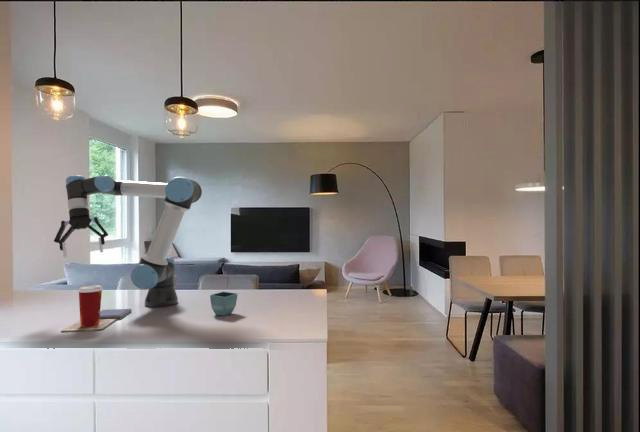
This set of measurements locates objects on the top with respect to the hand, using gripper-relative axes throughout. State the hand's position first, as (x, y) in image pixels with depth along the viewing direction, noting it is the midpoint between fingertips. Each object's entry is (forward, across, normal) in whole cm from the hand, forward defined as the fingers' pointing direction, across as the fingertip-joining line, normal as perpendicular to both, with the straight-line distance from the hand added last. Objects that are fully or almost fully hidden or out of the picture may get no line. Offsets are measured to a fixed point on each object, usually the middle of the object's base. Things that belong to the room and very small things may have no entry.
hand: (83, 254), depth 153 cm
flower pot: (+40, -53, +20) cm, 69 cm away
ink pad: (+29, -8, +4) cm, 31 cm away
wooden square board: (+31, -3, +17) cm, 35 cm away
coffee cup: (+31, -2, +17) cm, 35 cm away
